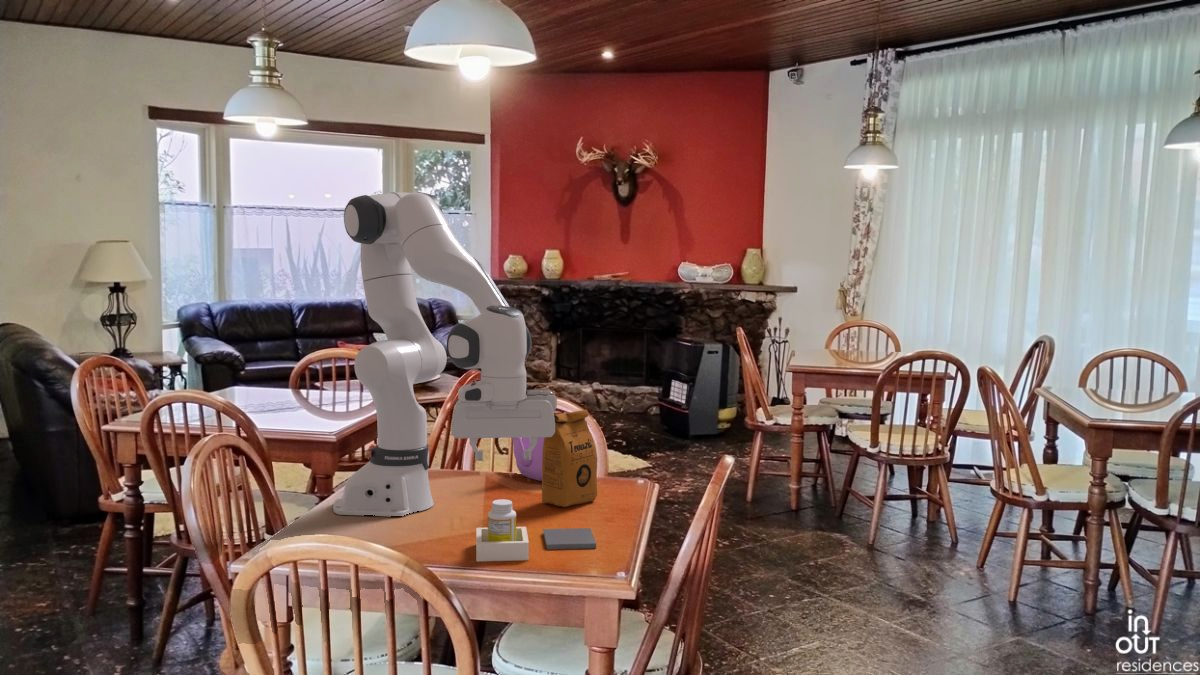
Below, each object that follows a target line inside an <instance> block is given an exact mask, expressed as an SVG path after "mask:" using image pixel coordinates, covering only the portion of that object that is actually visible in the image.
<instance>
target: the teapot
mask: <svg viewBox="0 0 1200 675" xmlns="http://www.w3.org/2000/svg"><path fill="white" fill-rule="evenodd" d="M512 442H513V445H512V446H513V455H514V458H515V465H516V467H517V470H518V472H519V473H520V474H521V475H522V476H524V477H527V478H528V479H532V480H536V481H540V482H542V460H543V444H544V437H537V444H536V446H535V447H534V449H533V450H532V451H531V460H524V457H523V455H524V450H526V449H528V448H529V446H530V444H531V443H530V440H529V437H526V438H512Z"/></svg>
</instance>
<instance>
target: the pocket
mask: <svg viewBox="0 0 1200 675" xmlns="http://www.w3.org/2000/svg"><path fill="white" fill-rule="evenodd" d="M475 531H476V533H475V534H476V535H475V536H476V538H475V542H476V544H475V545H476V547H475V548H476V550H475V551H476V552H475V553H476V554H475V555H476V557H475V558H476V560H475V562H507V561H508V562H509V561H510V562H511V561H512V562H515V561H529V556H530V555H529V553H530V552H529V548H530V542H529V537H528V531H527V526H516V541H503V542H488V527H476V530H475Z"/></svg>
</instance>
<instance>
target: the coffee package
mask: <svg viewBox="0 0 1200 675" xmlns="http://www.w3.org/2000/svg"><path fill="white" fill-rule="evenodd" d="M587 417H589V411H588V409H584V410H577V411H576V410H575V411H569V412H562V413H555V414H554V419H555V433H554V435H553V436H552V437H544V444H543V460H542V481H541V487H542V488H541V502H542V503H543V504H549V505H555V506H557V507H564V508H566V507H571V506H575V505H581V504H586V503H589V502H594V501H595V500H596V498H597V496H598V481H597V480H598V479H597V478H598V476H597V474H598V472H597V471H598V455H597V448H596V446H595V443H594V439H593V436H592V435H591V434H592V433H591V432H590V428H589V426H588V422H587V420H586V418H587Z"/></svg>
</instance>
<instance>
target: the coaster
mask: <svg viewBox="0 0 1200 675" xmlns="http://www.w3.org/2000/svg"><path fill="white" fill-rule="evenodd" d="M542 535H543V538H544V543H545V547H546V550H571V549H572V550H574V549H575V550H576V549H577V550H578V549H579V550H581V549H597V541H596V539H595V536H594V534H593V532H592V529H591V528H590V527H583V528H582V527H579V528H576V527H575V528H573V527H572V528H544V529H542Z"/></svg>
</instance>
